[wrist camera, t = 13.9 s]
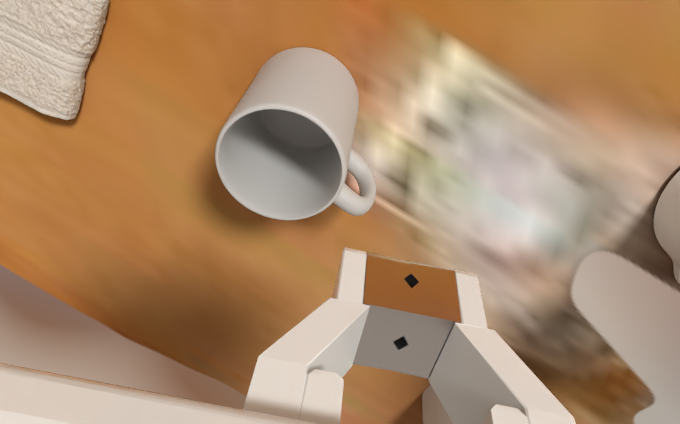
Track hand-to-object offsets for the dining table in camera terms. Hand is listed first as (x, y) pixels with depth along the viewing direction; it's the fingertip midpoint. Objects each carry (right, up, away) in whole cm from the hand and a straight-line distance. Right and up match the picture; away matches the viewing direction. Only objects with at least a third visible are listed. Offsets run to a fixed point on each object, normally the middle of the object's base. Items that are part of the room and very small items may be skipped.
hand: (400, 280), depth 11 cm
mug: (-3, +10, +30) cm, 31 cm away
